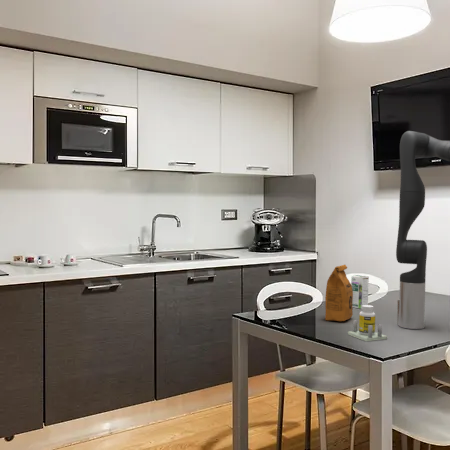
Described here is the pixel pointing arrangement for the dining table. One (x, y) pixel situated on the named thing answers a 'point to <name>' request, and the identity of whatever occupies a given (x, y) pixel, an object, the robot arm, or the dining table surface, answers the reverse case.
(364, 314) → the supplement bottle
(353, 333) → the peg board
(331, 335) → the dining table surface
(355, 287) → the syrup box
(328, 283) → the coffee package
